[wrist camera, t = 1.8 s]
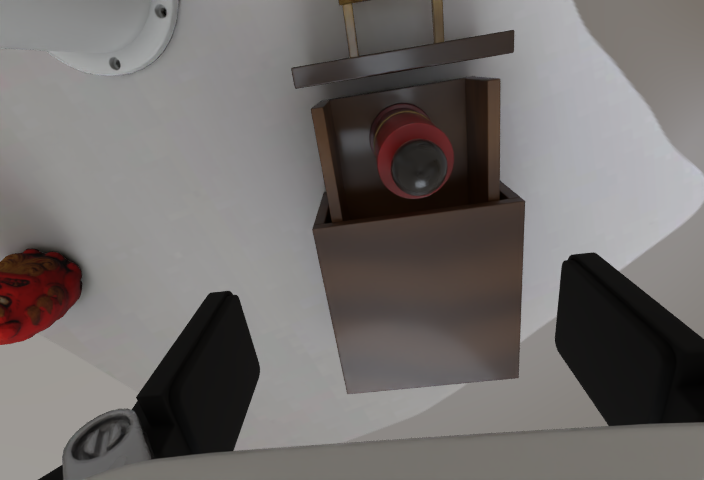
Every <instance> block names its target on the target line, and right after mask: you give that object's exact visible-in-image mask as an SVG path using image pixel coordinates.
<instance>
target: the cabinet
mask: <svg viewBox="0 0 704 480" xmlns="http://www.w3.org/2000/svg"><path fill="white" fill-rule="evenodd" d="M524 215H525V201H524V200H523V199H522V198H520V197H519V196H518V195H517V194H516V193H515V192H513V191H512V190H511V189H510V188H509V187H507V186H506V185H505V184H504V183H502V182H501V181H500V195H499V200H498V201H491V202H483V203H476V204H468V205H461V206H454V207H446V208H439V209H431V210H424V211H416V212H409V213H401V214H394V215H386V216H379V217H371V218H364V219H356V220H349V221H342V222H334V223H332V219H331V214H330V209H329V203H328V198H327V193H326V192H324V194H323V197H322V200H321V203H320V207H319V210H318V213H317V216H316V220H315V223H314V226H313V229H312V230H313V235H314V240H315V244H316V249H317V254H318V258H319V263H320V268H321V273H322V277H323V282H324V287H325V291H326V296H327V301H328V305H329V310H330V315H331V320H332V324H333V329H334V334H335V338H336V343H337V348H338V352H339V357H340V362H341V366H342V371H343V376H344V381H345V385H346V390H347V394H355V393H365V392H376V391H386V390H397V389H408V388H418V387H429V386H439V385H450V384H460V383H471V382H480V381H492V380H503V379H513V378H518V377H519V352H520V351H519V350H520V324H521V297H522V270H523V242H524Z"/></svg>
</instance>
